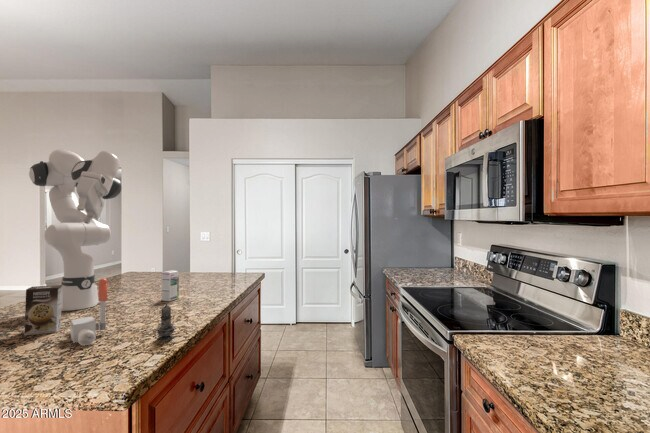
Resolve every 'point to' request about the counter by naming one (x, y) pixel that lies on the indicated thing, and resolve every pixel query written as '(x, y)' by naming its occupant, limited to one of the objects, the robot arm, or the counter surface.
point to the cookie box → (43, 309)
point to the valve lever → (102, 301)
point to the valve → (84, 330)
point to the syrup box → (170, 285)
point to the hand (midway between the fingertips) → (83, 216)
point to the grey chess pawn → (165, 325)
